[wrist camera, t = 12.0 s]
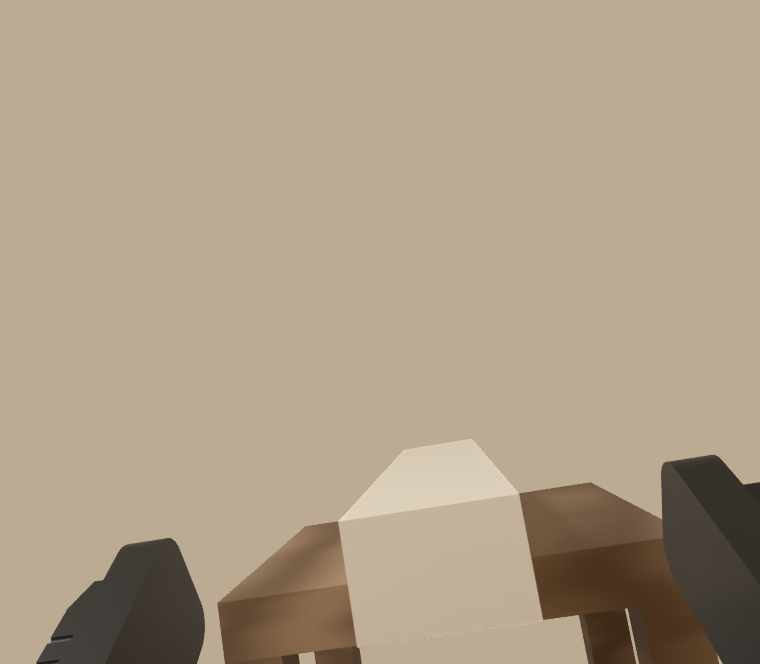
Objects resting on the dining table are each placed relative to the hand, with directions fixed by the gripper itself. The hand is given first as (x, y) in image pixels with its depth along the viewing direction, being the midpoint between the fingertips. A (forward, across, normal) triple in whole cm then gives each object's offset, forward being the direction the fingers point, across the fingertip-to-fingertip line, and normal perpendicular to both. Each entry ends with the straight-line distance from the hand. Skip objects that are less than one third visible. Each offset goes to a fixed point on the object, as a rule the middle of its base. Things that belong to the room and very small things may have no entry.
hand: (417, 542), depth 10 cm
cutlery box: (+14, 0, +12) cm, 19 cm away
